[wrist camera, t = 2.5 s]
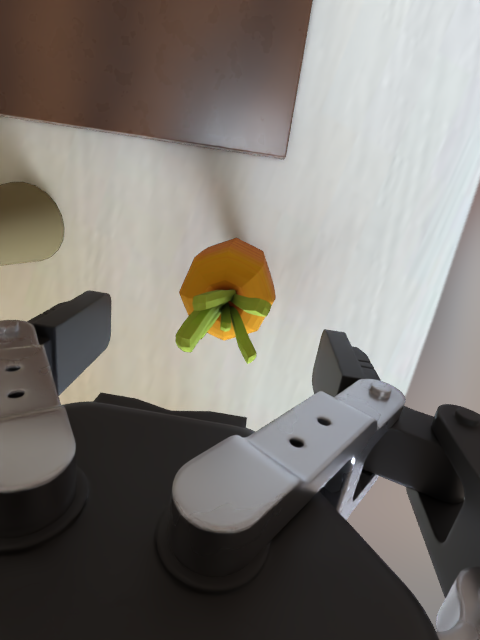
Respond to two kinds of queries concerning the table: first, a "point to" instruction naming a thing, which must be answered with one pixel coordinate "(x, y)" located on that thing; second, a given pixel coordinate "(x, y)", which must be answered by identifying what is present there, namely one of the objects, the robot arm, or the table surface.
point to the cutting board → (157, 68)
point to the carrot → (226, 295)
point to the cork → (28, 224)
